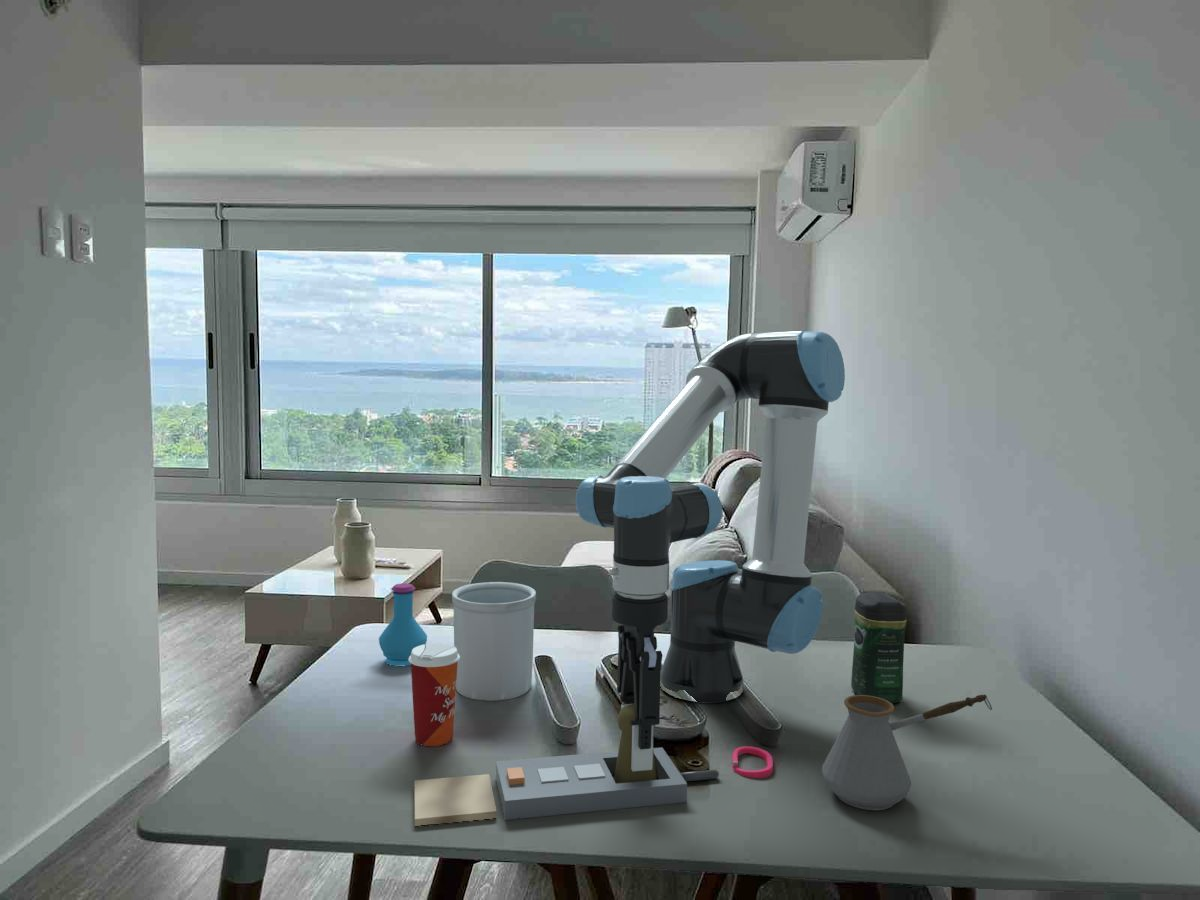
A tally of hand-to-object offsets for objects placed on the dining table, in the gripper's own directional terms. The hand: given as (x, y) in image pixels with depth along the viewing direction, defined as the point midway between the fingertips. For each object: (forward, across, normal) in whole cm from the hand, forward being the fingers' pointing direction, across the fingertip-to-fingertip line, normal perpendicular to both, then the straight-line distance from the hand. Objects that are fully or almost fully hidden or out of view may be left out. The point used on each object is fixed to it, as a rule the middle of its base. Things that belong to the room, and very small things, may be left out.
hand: (635, 758), depth 112 cm
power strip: (+4, 0, -3) cm, 5 cm away
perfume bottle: (+4, -57, -32) cm, 65 cm away
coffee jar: (+4, -24, +52) cm, 57 cm away
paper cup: (+4, -20, -26) cm, 33 cm away
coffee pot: (+4, +10, +34) cm, 36 cm away
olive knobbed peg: (+4, 0, 0) cm, 4 cm away
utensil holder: (+4, -40, -16) cm, 43 cm away
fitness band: (+4, -3, +18) cm, 19 cm away
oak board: (+4, 0, -24) cm, 25 cm away
